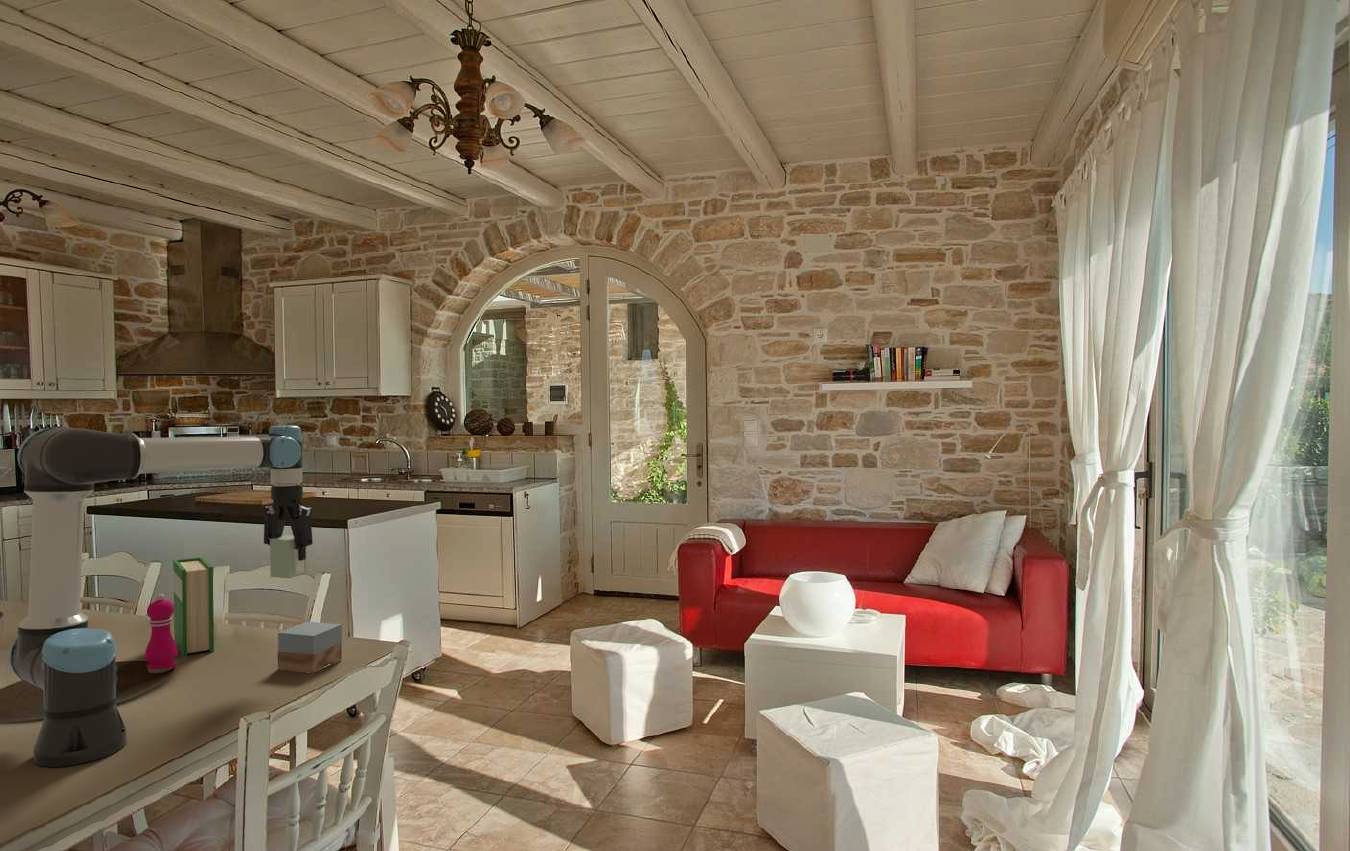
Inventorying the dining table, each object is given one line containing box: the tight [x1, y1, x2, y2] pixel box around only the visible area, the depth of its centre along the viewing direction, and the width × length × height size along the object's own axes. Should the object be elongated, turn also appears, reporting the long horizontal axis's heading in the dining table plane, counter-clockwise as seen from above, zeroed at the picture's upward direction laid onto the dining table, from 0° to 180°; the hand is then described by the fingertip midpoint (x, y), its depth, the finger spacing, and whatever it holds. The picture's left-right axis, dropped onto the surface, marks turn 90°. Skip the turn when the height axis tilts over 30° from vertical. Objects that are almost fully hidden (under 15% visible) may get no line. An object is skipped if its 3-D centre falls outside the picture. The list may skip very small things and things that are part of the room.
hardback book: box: [172, 556, 215, 658], centre depth 228 cm, size 18×7×24 cm, turn 39°
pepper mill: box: [144, 593, 179, 669], centre depth 208 cm, size 7×7×20 cm
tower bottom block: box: [277, 642, 343, 674], centre depth 213 cm, size 11×11×5 cm
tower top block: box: [277, 621, 343, 655], centre depth 213 cm, size 11×11×5 cm
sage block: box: [269, 534, 307, 579], centre depth 210 cm, size 6×6×10 cm
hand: (288, 571), depth 210 cm, fingers closed on sage block, 6 cm apart
